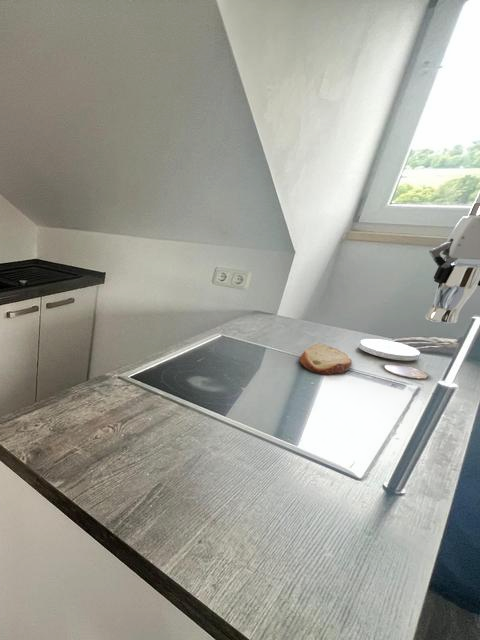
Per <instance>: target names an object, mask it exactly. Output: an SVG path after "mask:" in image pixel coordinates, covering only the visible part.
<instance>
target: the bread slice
mask: <svg viewBox="0 0 480 640" xmlns="http://www.w3.org/2000/svg"><path fill="white" fill-rule="evenodd" d="M299 361H300V363H301V365H302V366H303V367H304V368H305V369H307V370H308V371H310V372H311V373H314V374H320V375H328V376H329V375H330V374H331V375H332V374H344V373H346V372H347V371H348V370H349V369H350V368H351V366H352V359H351V358H350V357H349V356H348V354H346V353H345V352H343V351H341V350H340V349H338V348H336V347H332V346H329V345H326V344H323V343H316V344H313V345H311V346H309V347H308V348H307V349H306V350H305V351H303V352H302V354H301V355H300V357H299Z"/></svg>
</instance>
